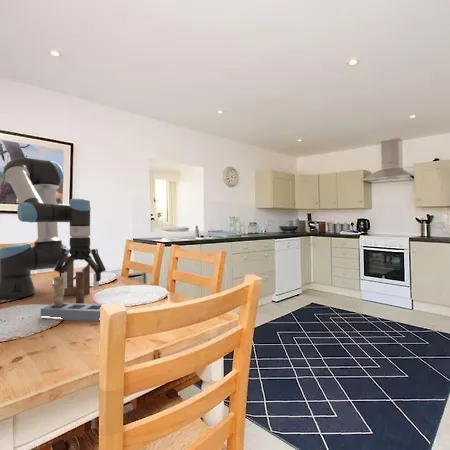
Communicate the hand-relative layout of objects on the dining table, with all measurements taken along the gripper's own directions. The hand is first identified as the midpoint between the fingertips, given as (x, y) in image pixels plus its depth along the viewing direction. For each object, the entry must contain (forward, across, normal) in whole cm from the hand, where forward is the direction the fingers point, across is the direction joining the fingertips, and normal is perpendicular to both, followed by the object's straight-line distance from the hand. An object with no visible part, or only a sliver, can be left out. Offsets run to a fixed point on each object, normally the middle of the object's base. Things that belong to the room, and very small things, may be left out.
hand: (80, 288), depth 119 cm
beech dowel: (+7, -1, -12) cm, 14 cm away
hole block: (+7, +6, -12) cm, 15 cm away
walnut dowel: (+7, 0, 0) cm, 7 cm away
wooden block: (+7, -12, +18) cm, 23 cm away
